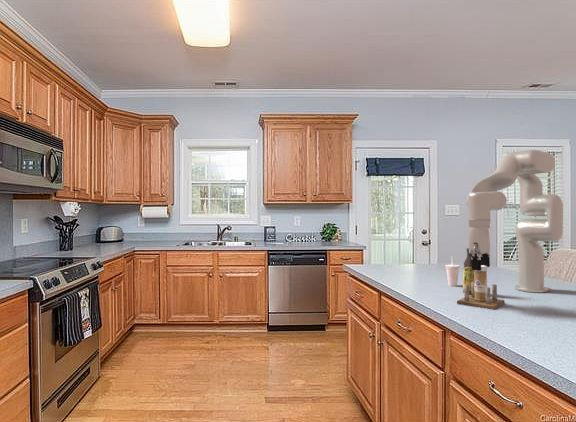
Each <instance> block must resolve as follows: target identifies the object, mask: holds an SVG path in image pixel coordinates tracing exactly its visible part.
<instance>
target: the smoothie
mask: <svg viewBox="0 0 576 422" xmlns="http://www.w3.org/2000/svg"><path fill="white" fill-rule="evenodd" d="M453 262H454V256H453V255H451V264H445V265H444V266H445V267H444V268H445V270H446V278H447V283H448V286H449V287H458V280H459V272H460V268H461V266H460V265H459V264H454V263H453Z"/></svg>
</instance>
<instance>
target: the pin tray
mask: <svg viewBox="0 0 576 422" xmlns="http://www.w3.org/2000/svg"><path fill="white" fill-rule="evenodd" d="M474 283H475V282H471V289H472V295H470V294H469V285H464V293H463V294H464V296H463V298H460V299H458V300H457V301H456V305H462V306H467V307H474V308H479V307H480V308H481V309H486V308H487V310H492V311H493V310H496V309H497V308H499V307H501V306H503V305H504V304H505V303H506V302H505V299H498V291H497V288H498V286H497V284H491V287H488V286H487V287H485V295H486V301H477V300H475V299H474V298H475V291H474ZM480 308H479V309H480Z"/></svg>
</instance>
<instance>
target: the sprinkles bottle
mask: <svg viewBox="0 0 576 422" xmlns="http://www.w3.org/2000/svg"><path fill="white" fill-rule="evenodd" d="M487 272H488V267H487V266H485V265H481V271H477V270H474V278H475V279H474V280H475V283H474V291H475V298H474V299H475V300H477V301H486V295H485V287H488V279H487V277H488V274H487Z"/></svg>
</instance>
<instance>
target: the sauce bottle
mask: <svg viewBox="0 0 576 422" xmlns="http://www.w3.org/2000/svg"><path fill="white" fill-rule="evenodd" d="M471 257H472V256H471V254H470V253H469V247H466V259H465V260H464V261H463V272H462V273H463V274H462V277H463V278H462V292H463V294H464V285H469V295H470V296H472V289H471V282H475V280H474V279H475V278H474V270H472V260H471Z"/></svg>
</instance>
